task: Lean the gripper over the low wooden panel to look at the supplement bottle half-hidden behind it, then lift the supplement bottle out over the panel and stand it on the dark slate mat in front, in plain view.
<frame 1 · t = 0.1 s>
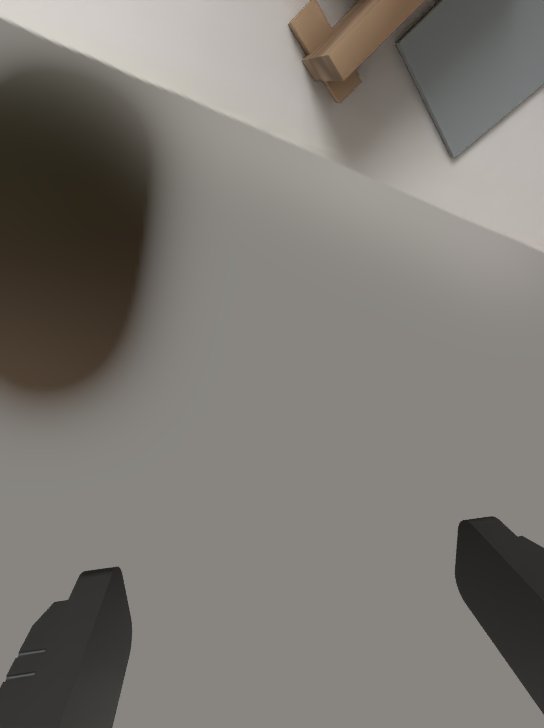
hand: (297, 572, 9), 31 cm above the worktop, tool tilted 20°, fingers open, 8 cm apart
mat: (482, 53, 30), on the worktop
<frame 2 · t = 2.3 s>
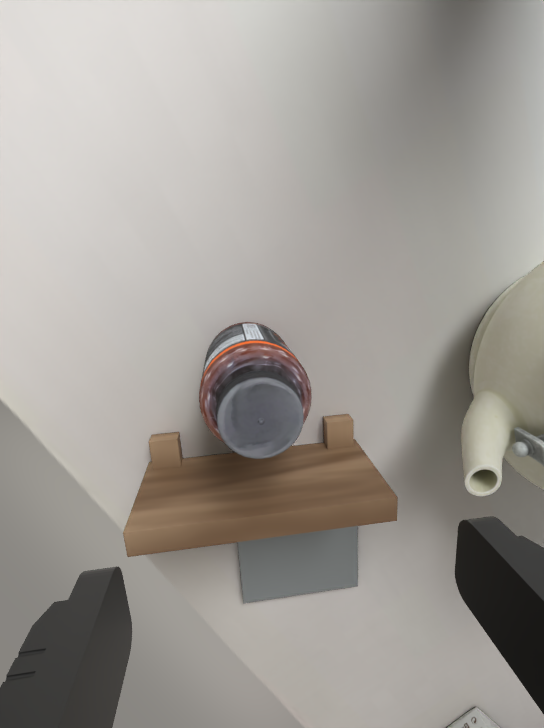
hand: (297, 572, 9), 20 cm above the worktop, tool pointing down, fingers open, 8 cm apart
supplement bottle: (247, 359, 29), on the worktop
wooden panel: (255, 459, 31), on the worktop
mat: (297, 540, 33), on the worktop
kettle: (529, 359, 31), on the worktop
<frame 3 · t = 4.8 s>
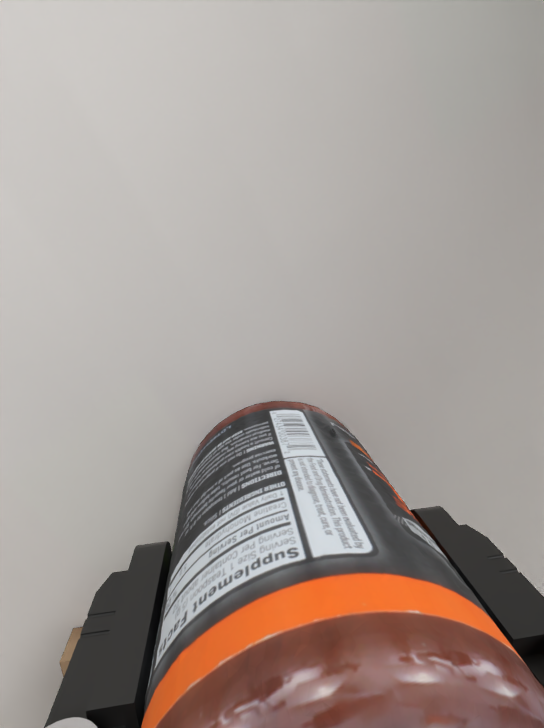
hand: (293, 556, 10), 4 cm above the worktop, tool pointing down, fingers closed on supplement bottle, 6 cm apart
supplement bottle: (275, 473, 13), on the worktop, touching gripper
wooden panel: (288, 658, 15), on the worktop
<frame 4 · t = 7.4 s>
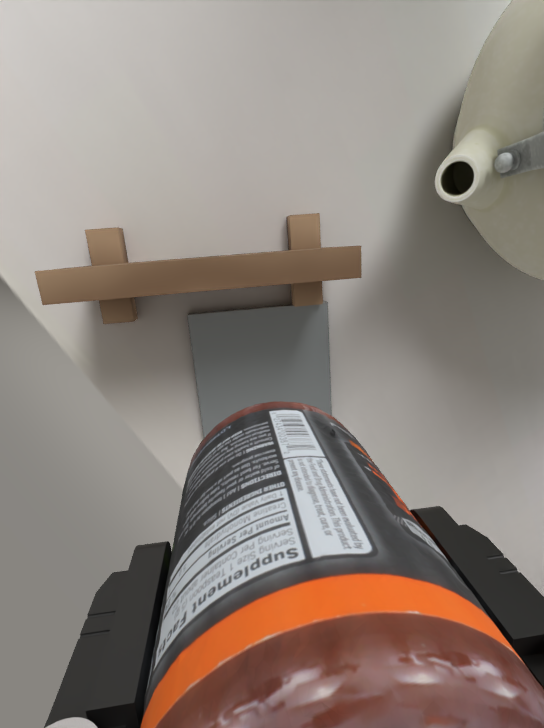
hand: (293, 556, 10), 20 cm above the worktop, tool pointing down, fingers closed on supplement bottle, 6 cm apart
supplement bottle: (275, 474, 13), point 17 cm above the worktop, touching gripper
wooden panel: (211, 268, 27), on the worktop
mat: (263, 373, 30), on the worktop
kettle: (521, 155, 28), on the worktop
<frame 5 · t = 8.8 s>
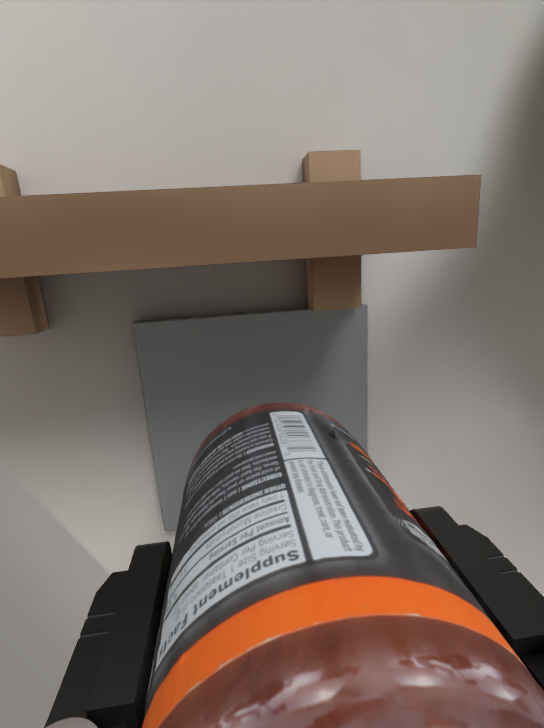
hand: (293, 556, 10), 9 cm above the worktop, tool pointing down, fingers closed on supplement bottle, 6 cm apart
supplement bottle: (275, 475, 13), point 5 cm above the worktop, touching gripper
wooden panel: (173, 245, 16), on the worktop
mat: (260, 418, 18), on the worktop
when the fingers open (5 cm above the worktop, at t = 10.0 s): supplement bottle drops 1 cm, resting on mat.
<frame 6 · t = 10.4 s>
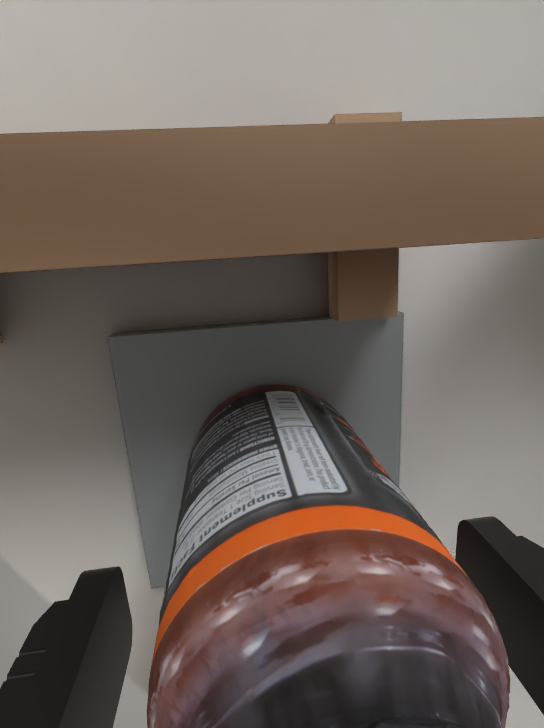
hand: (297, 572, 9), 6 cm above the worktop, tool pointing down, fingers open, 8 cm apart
supplement bottle: (271, 452, 15), resting on mat
wooden panel: (160, 237, 13), on the worktop
mat: (268, 451, 15), on the worktop
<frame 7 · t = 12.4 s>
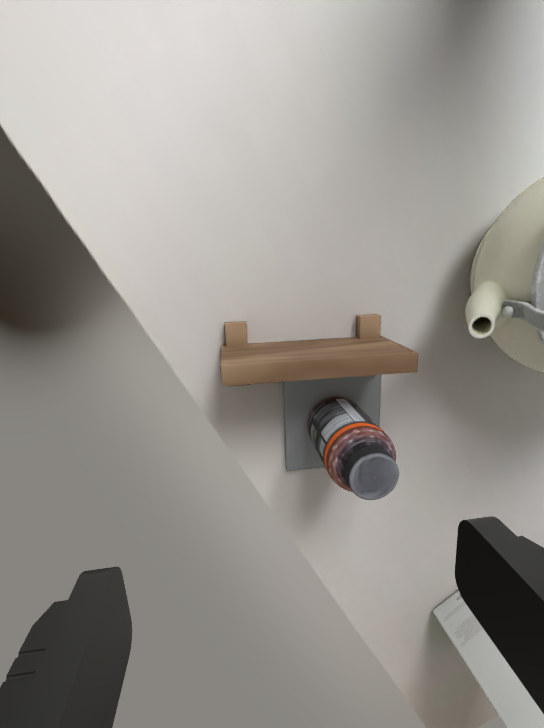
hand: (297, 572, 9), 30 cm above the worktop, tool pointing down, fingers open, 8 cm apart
skincare box: (466, 610, 51), on the worktop
supplement bottle: (333, 420, 41), resting on mat
wooden panel: (302, 348, 39), on the worktop
mat: (331, 420, 41), on the worktop
kettle: (517, 277, 40), on the worktop
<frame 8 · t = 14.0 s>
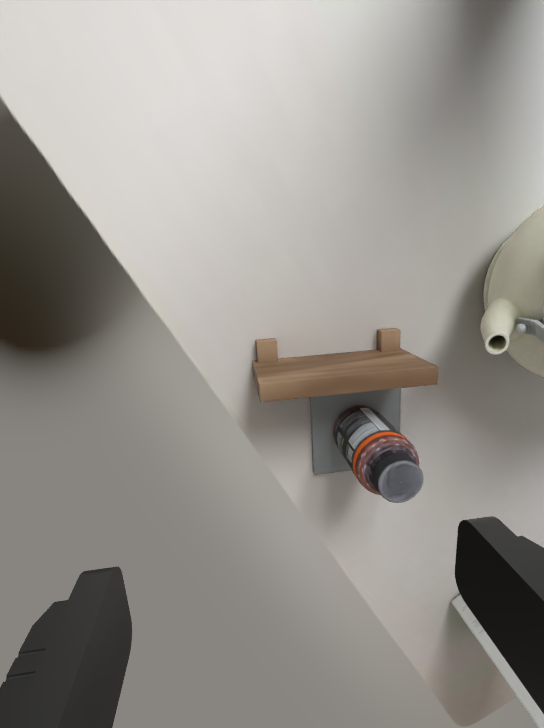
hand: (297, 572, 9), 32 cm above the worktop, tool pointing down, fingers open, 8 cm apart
skincare box: (483, 600, 54), on the worktop
supplement bottle: (356, 427, 44), resting on mat
wooden panel: (327, 361, 42), on the worktop
mat: (355, 427, 44), on the worktop
kettle: (527, 289, 43), on the worktop
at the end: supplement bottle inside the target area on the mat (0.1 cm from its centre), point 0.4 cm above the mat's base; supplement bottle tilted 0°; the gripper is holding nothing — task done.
